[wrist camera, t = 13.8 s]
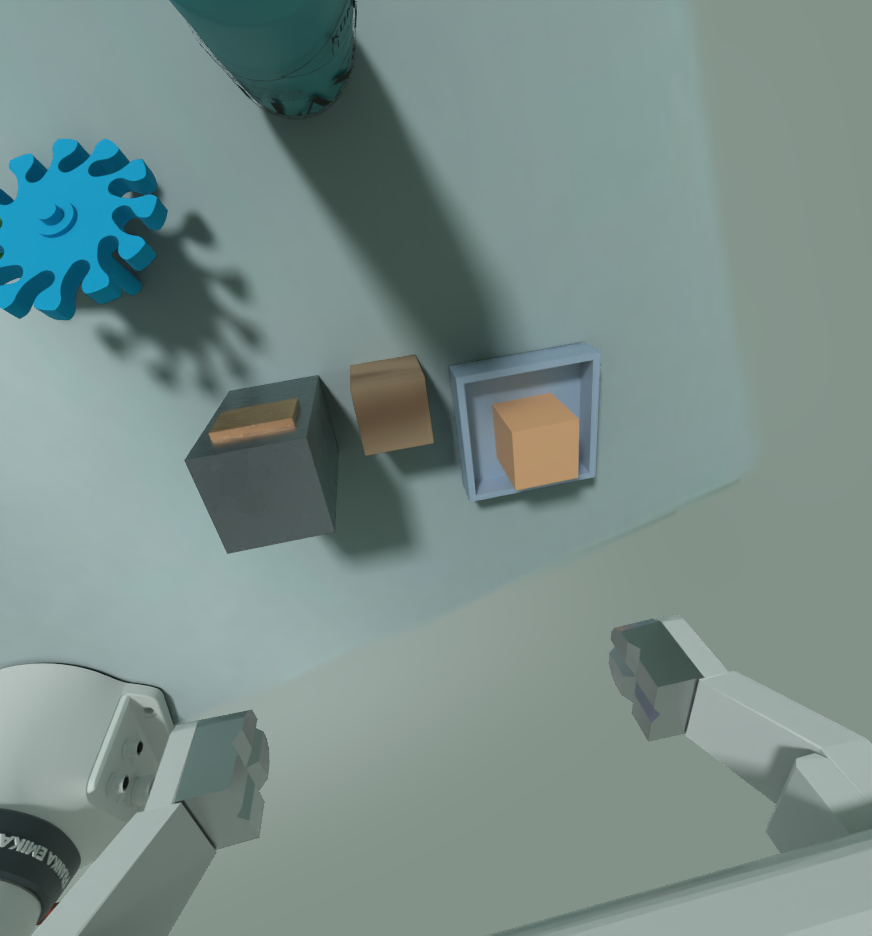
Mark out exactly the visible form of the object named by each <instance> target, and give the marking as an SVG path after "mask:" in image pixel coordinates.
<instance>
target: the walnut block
mask: <svg viewBox="0 0 872 936" xmlns="http://www.w3.org/2000/svg"><path fill="white" fill-rule="evenodd" d="M350 391H351V395H352V400H353V404H354V409H355V413H356V417H357V422H358V426H359V431H360V435H361V440H362V444H363V448H364V453H365V456H366V455H372V454H377V453H383V452H388V451H394V450H399V449H405V448H410V447H416V446H421V445H427V444H432V443H434V440H433V433H432V426H431V419H430V412H429V405H428V397H427V390H426V383H425V377H424V374H423V372H422V370H421V367H420V365H419V363H418V360H417V358H416V356H415V355H409V356H403V357H398V358H392V359H386V360H380V361H374V362H368V363H362V364H356V365H350Z"/></svg>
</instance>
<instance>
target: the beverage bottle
mask: <svg viewBox="0 0 872 936" xmlns="http://www.w3.org/2000/svg"><path fill="white" fill-rule="evenodd" d="M169 1H170V2H171V3H172V4H173V5H174V6H175V8H176V9H177V10H178V11H179V12H180V13H181V15H182V16H183V17H184V18H185V19H186V20H187V22H188V23H189V24H190V25H191V26H192V27H193V29H194V31H196V32H197V34H198V36H200V38H201V39H202V40H203V42H204V43H205V45H206V46H207V47H208V48H209V49H210V51H211V53H212V52H213V53H212V55H213V54H214V56H216V57H217V58H218V59H217V60H219V61H220V62H221V63H222V64H223V65H224V66H225V67H226V68H227V70H228V71H229V72H230V73H231V74H232V75H233V77H231V79H232V78H233V81H234V78H235V79H236V81H238V82H239V83H240V85H241V86H242V87H243V88H244V89H245V90H246V91H247V92H248V93H249V94H250V95H251V96H252V97H253V99H255V100H256V101H257V102H258V103H260V104H262V105H263V106H265V107H267V108H268V109H270V110H273V111H275V113H276V112H277V113H278V114H282V115H288V116H302V115H308V114H311V113H314V112H317V111H319V110H321V109H322V108H324V107H325V106H327V105H328V104H329V103H330V102H331V101H332V100H333V99H334V98H335V97H336V96H337V95H338V93H339V92H340V91H341V88H342V86H343V85H344V82H345V80H346V79H347V78H348V76H349V74H351V73H352V72H351V73H350V71H352V70H351V69H350V70H349V68H350V63H351V58H352V59H353V56H354V55H353V56H352V44H353V43H352V36H353V35H352V27H353V24H354V23H353V21H354V20H353V12H354V10H353V7H354V8H355V1H354V0H169ZM356 5H357V4H356ZM356 7H357V6H356ZM356 11H357V10H356V8H355V18H354V19H355V26H354V27H356V18H357V17H356V16H357V15H356V13H357V12H356ZM353 32H354V31H353ZM355 35H356V34H355ZM353 38H354V37H353ZM197 41H198V40H197ZM200 42H201V41H200ZM203 42H202V43H203ZM354 43H356V42H354ZM199 44H200V43H199ZM200 45H201V44H200ZM201 46H202V45H201ZM354 46H355V45H354ZM208 48H207V49H208ZM354 49H356V48H353V51H355V50H354ZM207 53H208V52H207ZM208 54H209V53H208ZM209 55H210V54H209ZM210 56H211V55H210ZM216 57H215V58H216ZM212 59H213V58H212ZM213 60H214V59H213ZM214 61H215V60H214ZM219 61H218V63H219ZM215 62H216V61H215ZM216 63H217V62H216ZM218 63H217V64H218ZM218 65H219V64H218ZM219 66H220V67H221V65H219ZM224 66H223V67H224ZM225 67H224V69H225V70H226V68H225ZM351 68H352V67H351ZM226 74H227V75H228V73H226ZM229 75H230V74H229ZM229 75H228V76H229ZM229 77H230V76H229ZM349 79H350V78H349ZM346 81H347V80H346ZM236 83H237V82H236ZM236 83H235V84H236ZM346 84H347V83H346ZM236 85H237V84H236ZM237 86H238V87H239V88H240V89H241V90H242V91H243V92H244V93H245V95H246V96H248V94H247V93H246V92H245V91H244V89H242V88H241V87H240V86H239V85H237ZM346 86H347V85H346ZM341 92H342V91H341ZM342 93H343V92H342ZM340 94H341V93H340ZM338 96H339V95H338ZM248 97H249V96H248ZM252 97H251V98H252ZM339 97H340V96H339ZM251 98H250V97H249V99H251ZM336 99H337V98H336ZM336 99H335V100H336ZM251 100H252V99H251ZM336 101H337V100H336ZM336 101H335V102H336ZM252 102H253V101H252ZM335 102H334V103H335ZM332 103H333V102H332ZM334 103H333V104H334ZM333 104H332V105H333ZM332 105H331V106H332ZM257 106H258V105H257ZM328 106H329V105H328ZM331 106H330V107H331ZM260 108H261V107H260ZM327 109H328V108H327ZM267 111H268V110H267ZM323 112H324V111H323ZM269 113H270V112H269ZM317 113H318V112H317ZM321 113H322V112H321ZM271 114H272V112H271ZM278 114H276V116H277V115H278ZM314 114H316V113H314ZM314 114H313V115H314ZM319 114H320V113H319ZM317 115H318V114H317ZM314 116H315V115H314ZM304 117H307V116H304ZM311 117H312V116H311ZM283 118H284V117H283ZM291 118H294V117H291ZM298 118H300V117H298ZM308 118H309V117H308ZM289 119H290V118H289ZM302 119H304V118H302Z"/></svg>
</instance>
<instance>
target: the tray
mask: <svg viewBox="0 0 872 936" xmlns="http://www.w3.org/2000/svg"><path fill="white" fill-rule="evenodd" d="M600 356H601V351H599V350H597V349H596V348H594V347H592V346H591V345H589V344H587V343H585V342H580V343H575V344H569V345H564V346H558V347H553V348H547V349H542V350H536V351H530V352H525V353H519V354H514V355H508V356H503V357H497V358H492V359H486V360H480V361H475V362H469V363H464V364H458V365H453V366H449V372H450V380H451V389H452V397H453V405H454V413H455V421H456V429H457V437H458V446H459V454H460V462H461V470H462V478H463V485H464V488H465V490H466V493H467V495H468V498H469V500H470V502H474V501H479V500H484V499H489V498H494V497H499V496H503V495H508V494H513V493H518V492H523V491H528V490H533V489H538V488H543V487H548V486H553V485H558V484H563V483H568V482H573V481H578V480H583V479H588V478H593V477H595V471H596V448H597V425H598V402H599V379H600ZM547 393H552V394H553V395H554V396H555V397H556V398H557V399H558V400H559V401H560V402H561V403H563V404H564V405H565V406H566V407H567V408H568V409H569V410H570V411H571V412H572V413H573V414H574V415H575V416H576V417H577V418H578V419H579V462H578V478H575V479H570V480H565V481H560V482H555V483H550V484H546V485H541V486H536V487H531V488H526V489H521V490H517V491H516V490H515V488H514V487H513V485H512V483H511V482H510V480H509V478H508V476H507V475H506V473H505V471H504V469H503V468H502V466H501V464H500V462H499V461H498V459H497V456H496V445H495V433H494V422H493V410H492V404H495V403H500V402H505V401H511V400H516V399H521V398H526V397H531V396H536V395H542V394H547Z"/></svg>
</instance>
